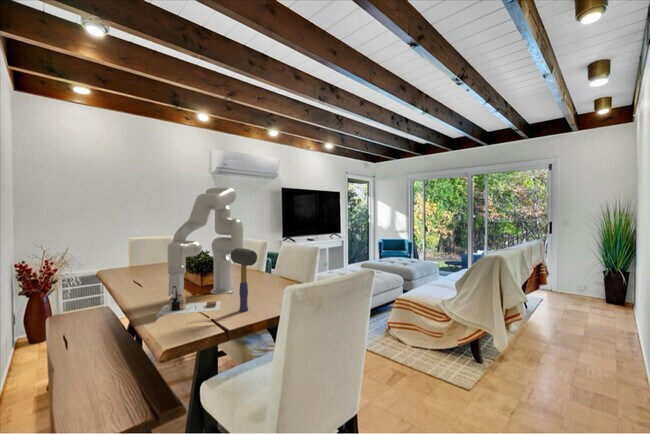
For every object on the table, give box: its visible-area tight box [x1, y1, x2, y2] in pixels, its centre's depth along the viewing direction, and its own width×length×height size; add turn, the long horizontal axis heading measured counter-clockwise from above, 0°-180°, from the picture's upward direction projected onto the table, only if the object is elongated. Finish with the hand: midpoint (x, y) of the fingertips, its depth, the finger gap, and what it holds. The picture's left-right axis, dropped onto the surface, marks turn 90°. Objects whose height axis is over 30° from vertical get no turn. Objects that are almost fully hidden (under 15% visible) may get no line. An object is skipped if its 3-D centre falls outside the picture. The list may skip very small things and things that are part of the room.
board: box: [155, 300, 222, 319], centre depth 142 cm, size 14×26×2 cm, turn 105°
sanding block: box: [168, 295, 187, 311], centre depth 140 cm, size 5×6×5 cm
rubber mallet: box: [230, 248, 258, 313], centre depth 138 cm, size 12×8×30 cm, turn 48°
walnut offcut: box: [206, 301, 217, 308], centre depth 144 cm, size 4×4×2 cm
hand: (177, 307), depth 140 cm, fingers closed on sanding block, 5 cm apart
